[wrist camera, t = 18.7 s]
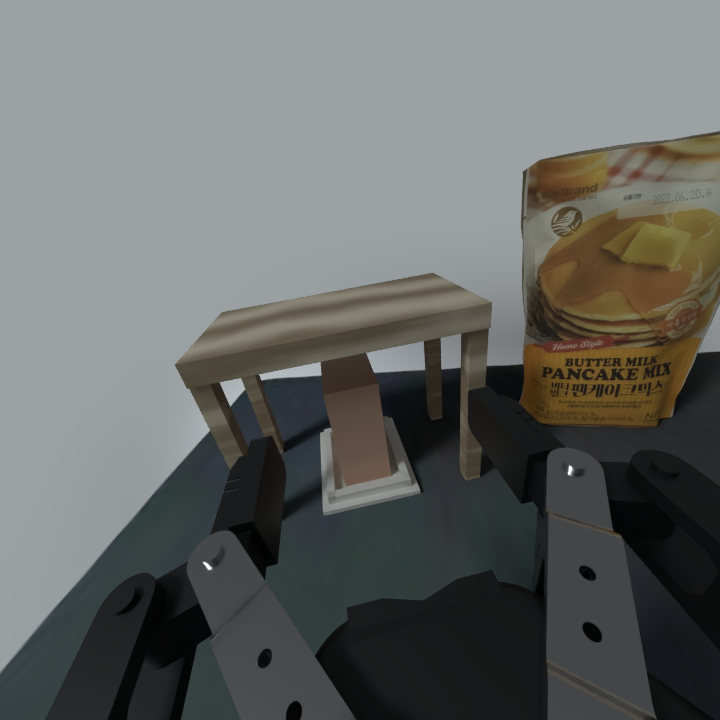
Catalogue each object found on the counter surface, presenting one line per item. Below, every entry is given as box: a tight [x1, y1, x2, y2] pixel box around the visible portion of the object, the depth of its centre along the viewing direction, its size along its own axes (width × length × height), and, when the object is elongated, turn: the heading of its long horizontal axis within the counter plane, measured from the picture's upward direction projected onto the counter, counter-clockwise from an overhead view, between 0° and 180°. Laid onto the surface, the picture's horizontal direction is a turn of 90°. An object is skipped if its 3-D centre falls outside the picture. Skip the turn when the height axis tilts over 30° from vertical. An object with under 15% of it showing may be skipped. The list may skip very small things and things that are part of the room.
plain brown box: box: [321, 353, 391, 486], centre depth 32 cm, size 7×5×12 cm
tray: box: [320, 416, 421, 516], centre depth 35 cm, size 12×10×2 cm
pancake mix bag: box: [519, 131, 720, 428], centre depth 30 cm, size 7×19×28 cm, turn 77°
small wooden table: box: [175, 273, 492, 481], centre depth 31 cm, size 12×23×19 cm, turn 98°
